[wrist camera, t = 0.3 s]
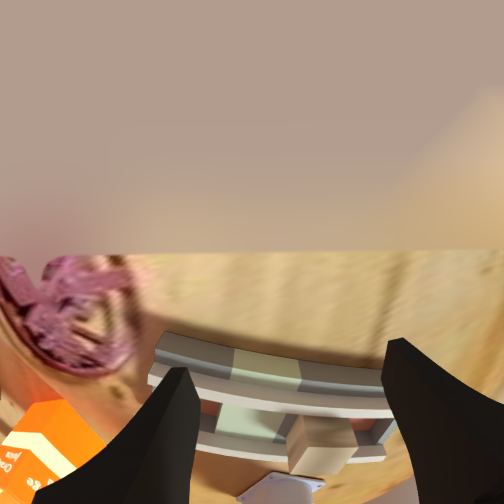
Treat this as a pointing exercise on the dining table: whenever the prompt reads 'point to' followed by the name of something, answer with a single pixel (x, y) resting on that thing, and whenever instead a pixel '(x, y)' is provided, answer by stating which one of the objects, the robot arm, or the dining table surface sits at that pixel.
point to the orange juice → (44, 450)
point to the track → (273, 398)
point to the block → (319, 445)
